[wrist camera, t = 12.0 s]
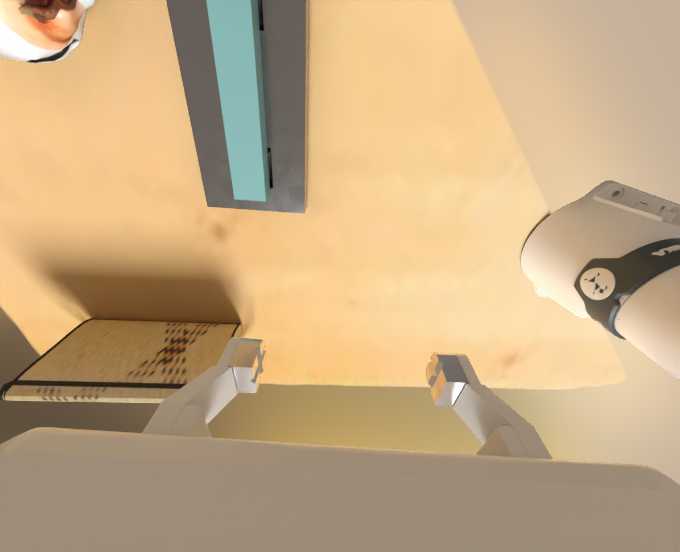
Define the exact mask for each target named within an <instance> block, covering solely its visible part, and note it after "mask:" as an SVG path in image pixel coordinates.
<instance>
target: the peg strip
mask: <svg viewBox="0 0 680 552" xmlns="http://www.w3.org/2000/svg"><path fill="white" fill-rule="evenodd" d="M206 2H207V9H208V16H209V23H210V30H211V37H212V44H213V51H214V59H215V66H216V73H217V80H218V87H219V94H220V101H221V108H222V115H223V122H224V129H225V136H226V144H227V151H228V158H229V165H230V172H231V179H232V186H233V193H234V199H237V200H250V201H264V202H266V201H267V199H268V198H269V197H270V182H269V181H270V179H271V178H272V175H271V158H270V152H268V151H267V136H266V121H265V105H264V90H263V74H262V59H261V44H260V28H263V25H262V8H261V0H206Z"/></svg>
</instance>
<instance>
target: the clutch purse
mask: <svg viewBox="0 0 680 552" xmlns="http://www.w3.org/2000/svg"><path fill="white" fill-rule="evenodd" d="M241 331H242V325H241V324H210V323H181V322H152V321H123V320H96V319H88V320H86V321H84V322H83V323H81V324H80V325H78V326H77V327H76V328H74V329H73V330H72V331H71V332H70V333H68V334H67V335H66V336H65V337H64V338H62V339H61V340H60V341H59V342H58V343H57V344H55V345H54V346H53V347H52V348H51V349H49V350H48V351H47V352H46V353H44V354H43V355H42V356H41V357H40V358H38V359H37V360H36V361H35V362H33V363H32V364H31V365H30V366H29V367H28V368H27V369H25V370H24V371H23V372H22V373H21V374H20V375H18V376H17V378H15V379H14V380H13V381H11V382H9V383H6V384H4V386H3V387H2V388H1V390H0V400H3V401H6V400H19V401H75V402H134V403H138V402H139V403H162V402H163V401H164V400H165V399H167V398H168V397H170V396H171V395H172V394H174V393H175V392H176V391H178V390H179V389H181V388H182V387H183V386H185V385H186V384H188V383H189V382H190V381H192V380H193V379H195V378H196V377H197V376H199V375H200V374H202V373H203V372H204V371H206V370H207V369H209V368H210V367H211V366H216V365H217V363H218V361H219V359H220V357H221V355H222V353H223V351H224V349H225V347H226V345H227V343H228V341H229V340H230V339H231V338H232V337H236V338H240V335H241Z"/></svg>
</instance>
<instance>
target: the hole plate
mask: <svg viewBox="0 0 680 552" xmlns="http://www.w3.org/2000/svg"><path fill="white" fill-rule="evenodd" d="M166 1H167V6H168V11H169V16H170V21H171V26H172V31H173V36H174V41H175V46H176V51H177V56H178V61H179V66H180V71H181V76H182V81H183V86H184V91H185V96H186V101H187V106H188V111H189V116H190V121H191V126H192V131H193V136H194V141H195V146H196V151H197V156H198V161H199V166H200V171H201V176H202V181H203V186H204V191H205V196H206V201H207V206H208V207H221V208H235V209H250V210H264V211H278V212H292V213H305V211H306V207H307V142H308V51H309V0H262V7H263V24H264V31H262V30H260V44H261V59H262V74H263V90H264V105H265V121H266V136H267V148H271V161H272V178H273V182H270V197H269V198H268V199H267V201H266V202H264V201H250V200H237V199H234V193H233V186H232V179H231V172H230V165H229V158H228V151H227V144H226V136H225V129H224V122H223V115H222V108H221V101H220V94H219V87H218V80H217V73H216V66H215V59H214V51H213V44H212V37H211V30H210V23H209V16H208V9H207V2H206V0H166Z"/></svg>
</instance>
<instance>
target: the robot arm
mask: <svg viewBox="0 0 680 552" xmlns="http://www.w3.org/2000/svg"><path fill="white" fill-rule="evenodd" d="M521 267H522V270H523V272H524V274H525V275H526V276H527V277H528V278H529V279H530V280H531V281H532V283H533V288H534V292H535V293H536V294H537V295H538V296H540V297H543V298H544V297H551V298H553V299H554V300H556V301H557V302H558V303H560V304H561V305H563V306H564V307H565V308H567V309H568V310H570V311H571V312H573V313H574V314H576V315H577V316H579V317H582V318H584V317H591V318H592V319H594V320H595V321H596V322H597V323H598V324H599V325H600V326H601V327H603V328H604V329H605V330H607V331H609V332H611V333H612V334H614V335H615V336H617V337H619V338H621V339H625V340H628V341H629V342H630V343H632V344H633V345H634V346H636V347H637V348H638V349H639V350H641V351H642V352H643V353H645V354H646V355H647V356H648V357H650V358H651V359H652V360H654V361H655V362H656V363H658V364H659V365H660V366H661V367H663V368H664V369H665V370H666V371H668V372H669V373H670V374H672V375H673V376H674V377H676V378H677V379H678V380H680V205H679V204H676V203H673V202H671V201H668V200H665V199H662V198H659V197H656V196H653V195H651V194H648V193H645V192H642V191H639V190H636V189H633V188H631V187H628V186H625V185H622V184H620V183H617V182H614V181H605V182H603V183H601V184H600V185H598V186H597V187H595V188H594V189H593V190H592V191H590V192H589V193H588V194H587V195H585V197H583V198H581V199H579V200H577V201H575V202H572V203H570V204H568V205H566V206H564V207H562V208H560V209H559V210H557V211H555V212H554V213H552V214H551V215H550V216H548V217H547V218H546V219H545V220H544V221H542V222H541V223H540V224H539V225H538V226H537V228H536V229H535V230H534V231H533V232H532V234H531V235H530V236H529V238H528V240H527V241H526V243H525V245H524V248H523V251H522V255H521ZM264 347H265V342H264V340H257V339H247V338H236V337H232V338H231V339H230V340H229V341H228V343H227V345H226V347H225V349H224V351H223V353H222V355H221V357H220V359H219V361H218V363H217V365H216V366H211V367H210V368H209V369H207V370H206V371H204V372H203V373H202V374H200V375H199V376H197V377H196V378H195V379H193V380H192V381H190V382H189V383H188V384H186V385H185V386H183V387H182V388H181V389H179V390H178V391H176V392H175V393H174V394H172V395H171V396H170V397H168V398H167V399H165V400H164V401H163V402H162V403H161V404H160V406H159V407H158V409H157V411H156V412H155V414H154V415H153V417H152V418H151V420H150V422H149V423H148V425H147V427H146V428H145V429H144V431H143V433H128V432H112V431H97V430H81V429H66V428H52V427H40V428H35V429H32V430H29V431H27V432H25V433H23V434H20V435H18V436H16V437H14V438H12V439H10V440H9V441H7V442H5V443H3V444H1V445H0V552H680V485H679V484H677V483H676V482H675V481H673V480H672V479H670V478H669V477H667V476H666V475H664V474H663V473H661V472H659V471H658V470H656V469H654V468H651V467H648V466H644V465H635V464H619V463H603V462H602V463H601V462H586V461H570V460H555V459H552V457H551V455H550V454H549V452H548V450H547V449H546V447H545V445H544V443H543V442H542V440H541V438H540V437H539V435H538V433H537V432H536V430H535V428H534V427H533V426H532V425H531V424H530V423H528V422H527V421H526V420H525V419H524V418H522V417H521V416H520V415H519V414H518V413H516V412H515V411H514V410H513V409H512V408H511V407H510V406H508V405H507V404H506V403H505V402H504V401H502V400H501V399H500V398H499V397H498V396H497V395H495V394H494V393H493V392H492V391H491V390H490V389H488V388H487V387H486V386H485V385H481V383H480V381H479V379H478V377H477V375H476V373H475V371H474V369H473V367H472V365H471V363H470V361H469V359H468V357H467V356H466V355H462V354H450V353H433V354H432V356H431V360H432V361H431V362H430V363H428V365H427V368H426V378H427V382H428V384H429V385H430V386H431V387H432V390H431V395H432V398H433V402H434V405H439V406H448V407H453V409H454V410H455V412H456V413H457V414H458V415H459V416H460V418H461V419H462V420H463V421H464V422H465V424H466V425H467V426H468V427H469V428H470V430H471V431H472V432H473V433H474V434H475V436H476V437H477V438H478V439H479V440H480V442H481V443H482V444H483V446H482V447H481V449H480V450H479V451H478V452H477V454H476V455H474V454H460V453H443V452H427V451H412V450H396V449H381V448H365V447H349V446H333V445H316V444H300V443H285V442H270V441H269V442H268V441H254V440H238V439H222V438H212V437H211V435H210V432H209V430H208V427H207V424H208V423H209V422H210V421H211V420H212V419H213V418H214V417H215V416H216V415H217V414H218V413H219V412H220V411H221V410H222V409H223V407H225V406H226V405H227V404H228V402H230V400H231V399H232V398H233V397H234V396H235V395H236V394H237V392H245V393H246V392H247V393H256V392H257V389H258V386H259V383H260V374H261V373H262V372H263V370H264V367H265V362H266V351H265V350H264Z"/></svg>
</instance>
